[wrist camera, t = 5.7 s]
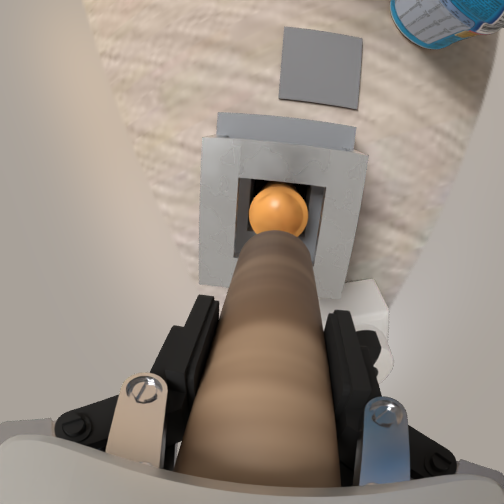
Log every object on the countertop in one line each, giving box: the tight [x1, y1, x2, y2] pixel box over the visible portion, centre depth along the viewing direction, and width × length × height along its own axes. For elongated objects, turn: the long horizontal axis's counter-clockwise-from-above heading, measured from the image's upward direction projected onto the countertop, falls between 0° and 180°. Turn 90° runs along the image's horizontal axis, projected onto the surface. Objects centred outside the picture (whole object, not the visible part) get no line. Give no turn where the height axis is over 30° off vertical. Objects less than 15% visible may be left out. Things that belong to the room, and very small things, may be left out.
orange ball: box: [249, 181, 308, 237], centre depth 28 cm, size 5×5×6 cm
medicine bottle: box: [318, 279, 394, 384], centre depth 32 cm, size 7×7×12 cm
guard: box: [199, 134, 369, 299], centre depth 26 cm, size 12×12×5 cm
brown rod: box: [173, 230, 341, 488], centre depth 10 cm, size 4×4×16 cm
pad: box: [279, 27, 362, 109], centre depth 26 cm, size 8×8×1 cm
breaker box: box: [217, 112, 356, 261], centre depth 30 cm, size 16×12×5 cm
